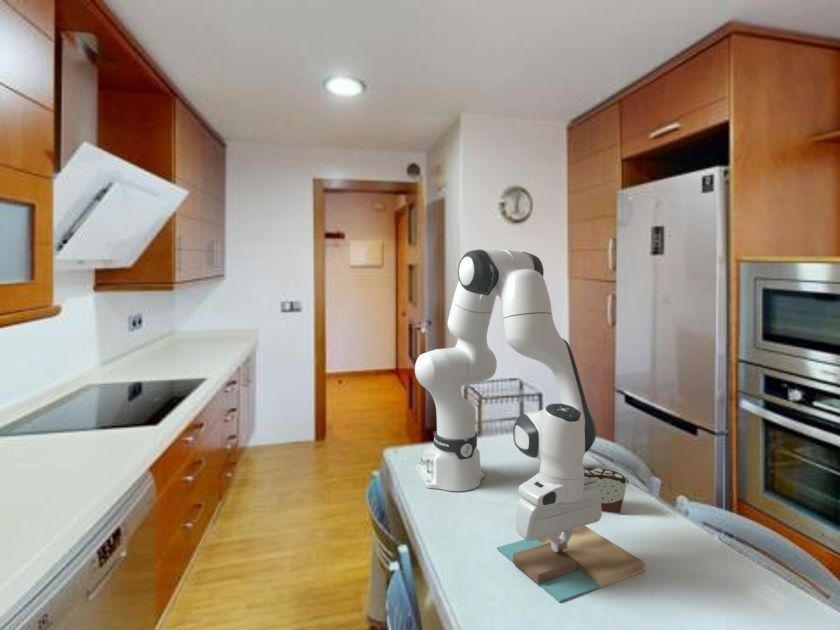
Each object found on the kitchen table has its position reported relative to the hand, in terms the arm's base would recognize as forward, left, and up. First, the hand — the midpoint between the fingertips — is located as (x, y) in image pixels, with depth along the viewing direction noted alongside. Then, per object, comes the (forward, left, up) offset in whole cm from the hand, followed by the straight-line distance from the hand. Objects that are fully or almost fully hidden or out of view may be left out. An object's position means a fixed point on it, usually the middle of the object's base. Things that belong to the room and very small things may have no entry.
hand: (559, 549), depth 105 cm
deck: (0, +7, -3) cm, 8 cm away
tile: (0, -4, -2) cm, 5 cm away
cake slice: (-15, +27, -3) cm, 31 cm away
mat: (0, -4, -3) cm, 5 cm away
